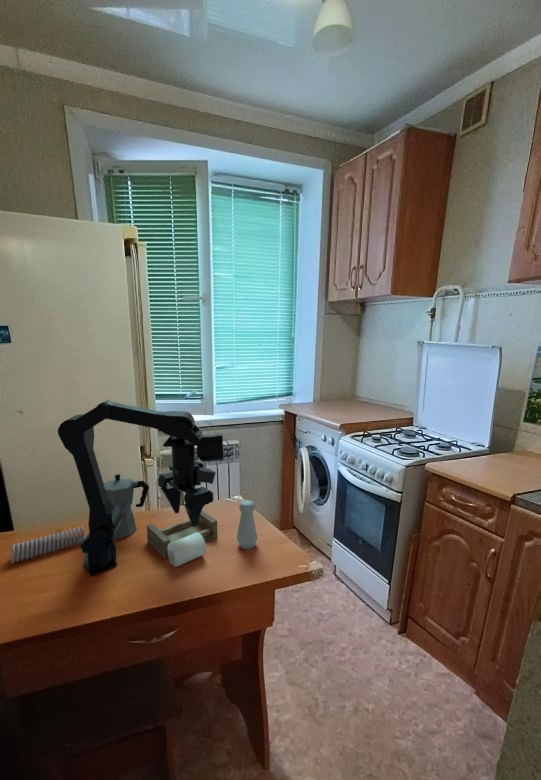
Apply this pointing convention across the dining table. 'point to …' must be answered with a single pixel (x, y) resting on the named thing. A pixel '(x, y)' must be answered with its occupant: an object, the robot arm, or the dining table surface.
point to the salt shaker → (247, 525)
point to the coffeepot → (125, 502)
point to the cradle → (180, 532)
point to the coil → (46, 544)
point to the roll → (186, 549)
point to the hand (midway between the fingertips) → (185, 519)
